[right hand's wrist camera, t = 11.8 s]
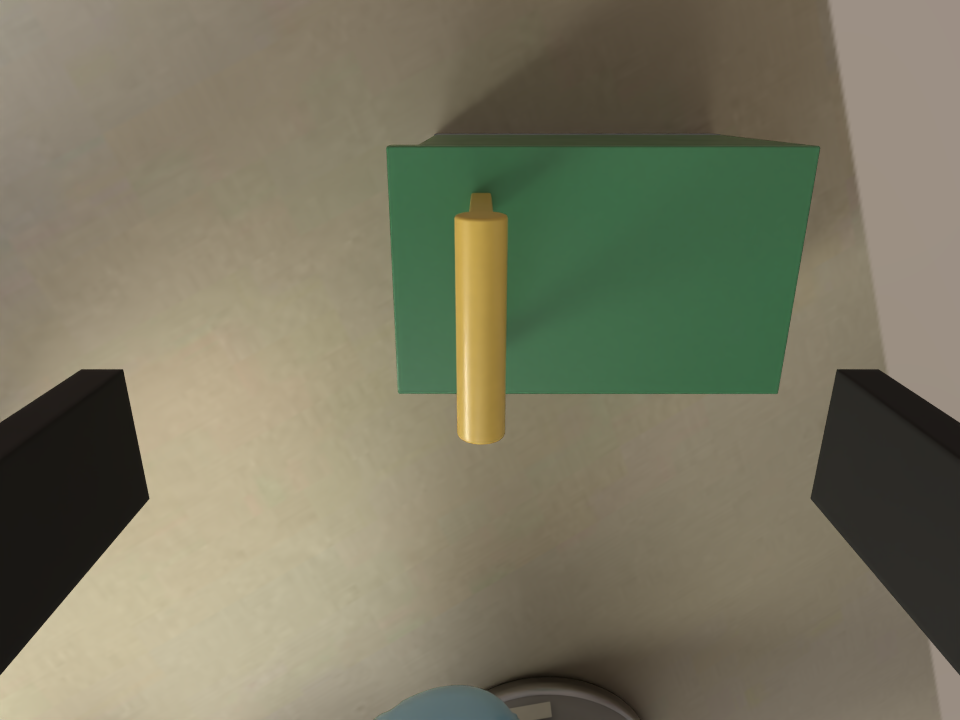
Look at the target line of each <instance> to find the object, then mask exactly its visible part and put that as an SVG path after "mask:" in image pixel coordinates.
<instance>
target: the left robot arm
mask: <svg viewBox="0 0 960 720" xmlns="http://www.w3.org/2000/svg"><path fill="white" fill-rule="evenodd" d="M374 720H640V718H639V717H638V715H637V714H636V713H635V712H634V711H633V709H632V708H631V707H630V706H629V705H627V704H626V703H625V702H624V701H623V700H621V699H620V698H619V697H617V696H616V695H614V694H612V693H611V692H609V691H607V690H605V689H603V688H601V687H598V686H595V685H593V684H590V683H586V682H583V681H579V680H574V679H568V678H559V677H536V678H527V679H521V680H516V681H512V682H508V683H505V684H502V685H499V686H496V687H494V688H492V689H489V690H487V691H486V690H483V689H480V688H477V687H473V686H465V685H451V686H443V687H438V688H433V689H430V690H427V691H424V692H421V693H419V694H416V695H414V696H411V697H409V698H407V699H405V700H403V701H402V702H401V703H400V704H399V705H397V706H396V707H394V708H393V709H392V710H390V711H388V712H386V713H382V714H380V715H379V716H378V717H376V718H375V719H374Z"/></svg>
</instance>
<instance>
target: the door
mask: <svg viewBox="0 0 960 720" xmlns="http://www.w3.org/2000/svg"><path fill="white" fill-rule="evenodd" d="M386 151H387V172H388V193H389V214H390V235H391V256H392V277H393V298H394V319H395V340H396V361H397V383H398V393H399V394H457V433H458V436H459V437H460V438H461V439H462V440H463V441H465V442H468V443H472V444H490V443H494V442H497V441H499V440H500V439H502V438H503V436H504V434H505V394H777V393H778V389H779V383H780V378H781V372H782V366H783V360H784V354H785V349H786V343H787V337H788V331H789V325H790V320H791V314H792V308H793V302H794V296H795V291H796V285H797V279H798V273H799V267H800V262H801V256H802V250H803V244H804V238H805V233H806V227H807V221H808V215H809V210H810V204H811V198H812V192H813V186H814V181H815V175H816V169H817V163H818V157H819V152H820V147H819V146H813V145H390V146H387V148H386Z"/></svg>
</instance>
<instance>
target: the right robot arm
mask: <svg viewBox="0 0 960 720" xmlns="http://www.w3.org/2000/svg"><path fill="white" fill-rule="evenodd" d="M148 500H149V494H148V489H147V484H146V480H145V475H144V470H143V465H142V460H141V455H140V450H139V445H138V440H137V435H136V431H135V426H134V421H133V416H132V411H131V406H130V401H129V396H128V391H127V386H126V382H125V377H124V372H123V369H81V370H80V371H78V372H77V373H75V374H74V375H72V376H71V377H69V378H68V379H66V380H65V381H63V382H62V383H60V384H58V385H57V386H55V387H54V388H52V389H51V390H49V391H48V392H46V393H45V394H43V395H42V396H40V397H39V398H37V399H36V400H34V401H33V402H31V403H30V404H28V405H27V406H25V407H23V408H22V409H20V410H19V411H17V412H16V413H14V414H13V415H11V416H10V417H8V418H7V419H5V420H4V421H2V422H1V423H0V675H1V674H2V672H3V671H4V670H5V669H6V668H7V667H8V665H9V664H10V663H11V662H12V661H13V659H14V658H15V657H16V656H17V655H18V654H19V652H20V651H21V650H22V649H23V648H24V646H25V645H26V644H27V643H28V642H29V640H30V639H31V638H32V637H33V636H34V635H35V633H36V632H37V631H38V630H39V629H40V627H41V626H42V625H43V624H44V623H45V622H46V620H47V619H48V618H49V617H50V616H51V614H52V613H53V612H54V611H55V610H56V609H57V607H58V606H59V605H60V604H61V603H62V601H63V600H64V599H65V598H66V597H67V596H68V594H69V593H70V592H71V591H72V590H73V588H74V587H75V586H76V585H77V584H78V583H79V581H80V580H81V579H82V578H83V577H84V575H85V574H86V573H87V572H88V571H89V570H90V568H91V567H92V566H93V565H94V564H95V562H96V561H97V560H98V559H99V558H100V556H101V555H102V554H103V553H104V552H105V551H106V549H107V548H108V547H109V546H110V545H111V543H112V542H113V541H114V540H115V539H116V538H117V536H118V535H119V534H120V533H121V532H122V530H123V529H124V528H125V527H126V526H127V525H128V523H129V522H130V521H131V520H132V519H133V517H134V516H135V515H136V514H137V513H138V512H139V510H140V509H141V508H142V507H143V506H144V504H145V503H146V502H147V501H148ZM811 500H812V501H813V502H814V503H815V504H816V506H817V507H818V508H819V509H820V510H821V512H822V513H823V514H824V515H825V516H826V517H827V519H828V520H829V521H830V522H831V523H832V525H833V526H834V527H835V528H836V529H837V530H838V532H839V533H840V534H841V535H842V536H843V538H844V539H845V540H846V541H847V542H848V543H849V545H850V546H851V547H852V548H853V549H854V551H855V552H856V553H857V554H858V555H859V557H860V558H861V559H862V560H863V561H864V562H865V564H866V565H867V566H868V567H869V568H870V570H871V571H872V572H873V573H874V574H875V575H876V577H877V578H878V579H879V580H880V581H881V583H882V584H883V585H884V586H885V587H886V588H887V590H888V591H889V592H890V593H891V594H892V596H893V597H894V598H895V599H896V600H897V601H898V603H899V604H900V605H901V606H902V607H903V609H904V610H905V611H906V612H907V613H908V614H909V616H910V617H911V618H912V619H913V620H914V622H915V623H916V624H917V625H918V626H919V627H920V629H921V630H922V631H923V632H924V633H925V635H926V636H927V637H928V638H929V639H930V641H931V642H932V643H933V644H934V645H935V646H936V648H937V649H938V650H939V651H940V652H941V654H942V655H943V656H944V657H945V658H946V659H947V661H948V662H949V663H950V664H951V665H952V667H953V668H954V669H955V670H956V671H957V672H958V674H959V675H960V423H959V422H958V421H956V420H955V419H953V418H952V417H950V416H949V415H947V414H946V413H944V412H943V411H941V410H940V409H938V408H936V407H935V406H933V405H932V404H930V403H929V402H927V401H926V400H924V399H923V398H921V397H920V396H918V395H917V394H915V393H914V392H912V391H911V390H909V389H908V388H906V387H904V386H903V385H901V384H900V383H898V382H897V381H895V380H894V379H892V378H891V377H889V376H888V375H886V374H885V373H883V372H882V371H880V370H879V369H837V372H836V377H835V382H834V386H833V391H832V396H831V401H830V406H829V411H828V416H827V421H826V426H825V431H824V435H823V440H822V445H821V450H820V455H819V460H818V465H817V470H816V475H815V480H814V484H813V489H812V494H811Z"/></svg>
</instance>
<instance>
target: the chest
mask: <svg viewBox="0 0 960 720" xmlns="http://www.w3.org/2000/svg"><path fill="white" fill-rule="evenodd" d="M420 145H804V144H795V143H786V142H777V141H769V140H760V139H751V138H743V137H734V136H725V135H720V134H435V135H434V136H433V137H431V138H430V139H428V140H426V141H425V142H423V143H421V144H420Z"/></svg>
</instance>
